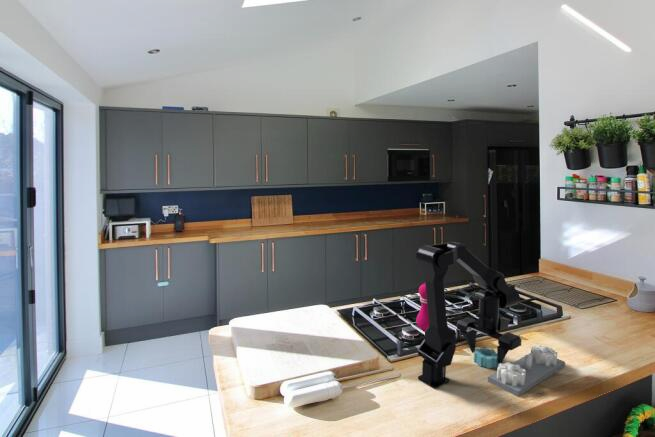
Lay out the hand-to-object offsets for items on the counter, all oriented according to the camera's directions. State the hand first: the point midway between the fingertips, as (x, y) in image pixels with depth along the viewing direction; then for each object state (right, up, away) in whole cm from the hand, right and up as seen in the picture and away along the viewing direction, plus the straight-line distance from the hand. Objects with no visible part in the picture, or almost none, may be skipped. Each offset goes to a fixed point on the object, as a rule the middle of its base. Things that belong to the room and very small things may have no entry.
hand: (486, 358), depth 124 cm
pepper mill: (-14, +2, +21) cm, 25 cm away
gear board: (+10, -2, -6) cm, 12 cm away
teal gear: (0, -1, 0) cm, 1 cm away
